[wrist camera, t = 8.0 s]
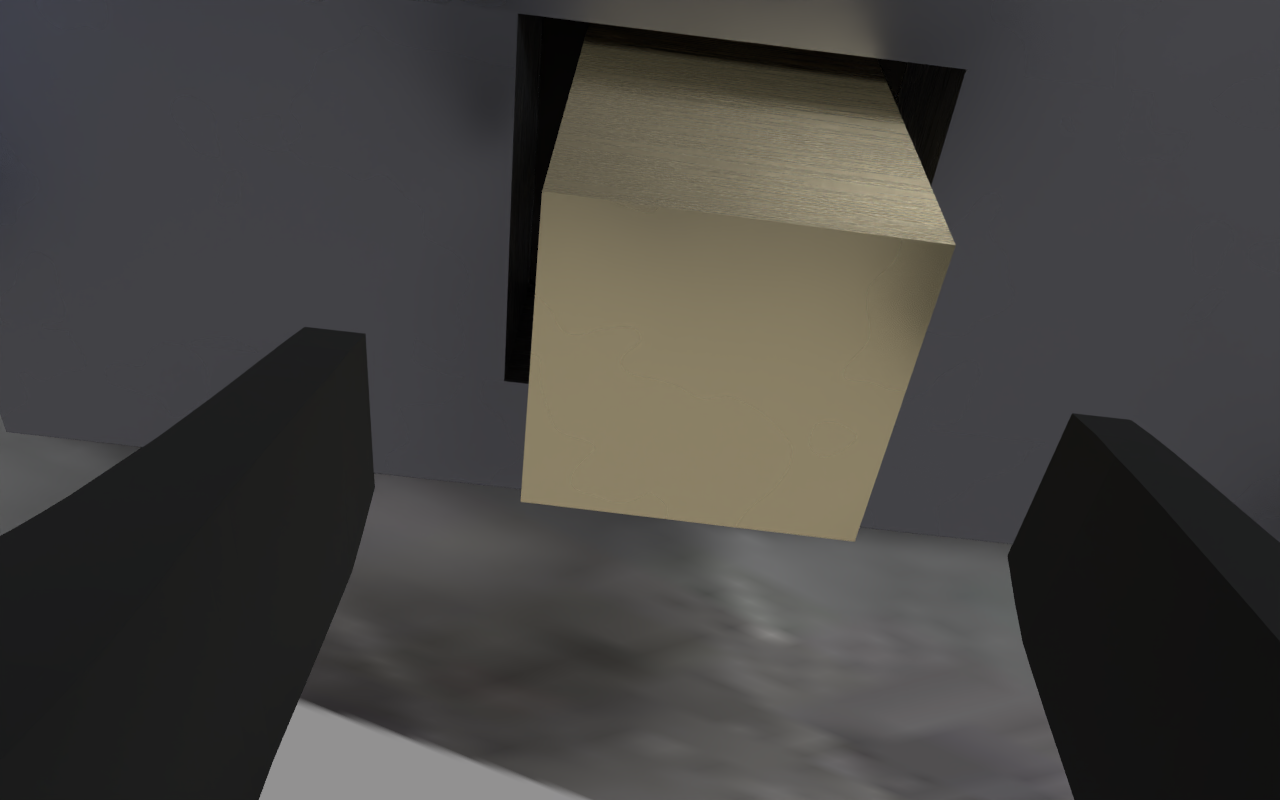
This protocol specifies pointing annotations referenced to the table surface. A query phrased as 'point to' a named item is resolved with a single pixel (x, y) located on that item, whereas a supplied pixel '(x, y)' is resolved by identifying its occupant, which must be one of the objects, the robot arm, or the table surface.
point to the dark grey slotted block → (503, 217)
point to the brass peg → (726, 284)
